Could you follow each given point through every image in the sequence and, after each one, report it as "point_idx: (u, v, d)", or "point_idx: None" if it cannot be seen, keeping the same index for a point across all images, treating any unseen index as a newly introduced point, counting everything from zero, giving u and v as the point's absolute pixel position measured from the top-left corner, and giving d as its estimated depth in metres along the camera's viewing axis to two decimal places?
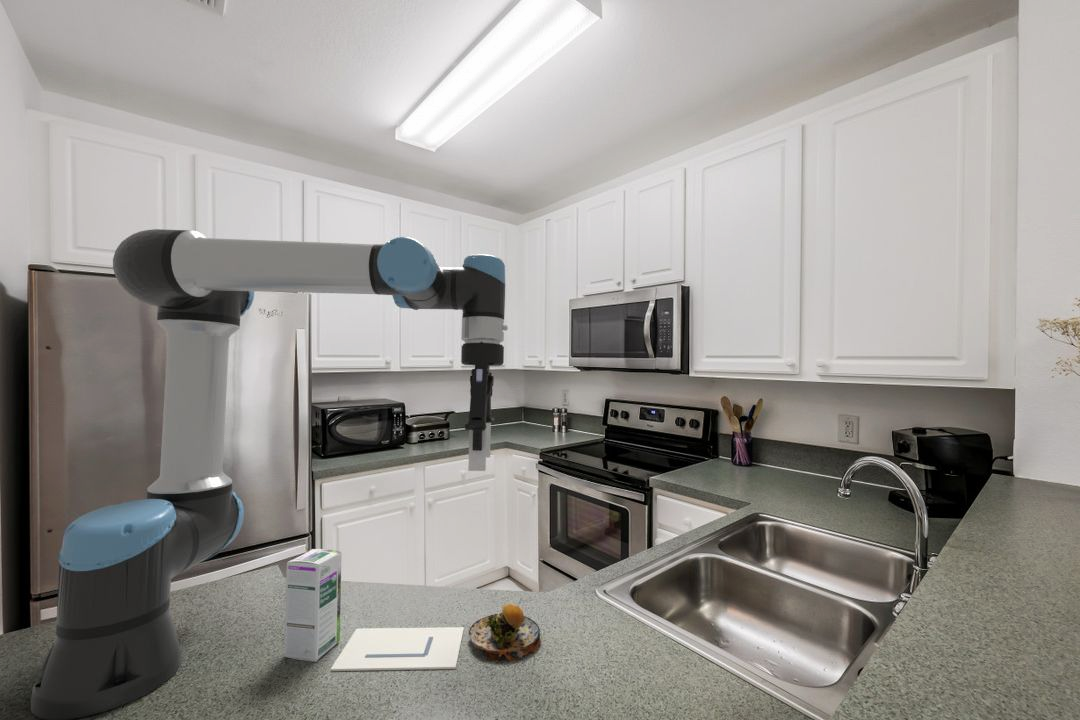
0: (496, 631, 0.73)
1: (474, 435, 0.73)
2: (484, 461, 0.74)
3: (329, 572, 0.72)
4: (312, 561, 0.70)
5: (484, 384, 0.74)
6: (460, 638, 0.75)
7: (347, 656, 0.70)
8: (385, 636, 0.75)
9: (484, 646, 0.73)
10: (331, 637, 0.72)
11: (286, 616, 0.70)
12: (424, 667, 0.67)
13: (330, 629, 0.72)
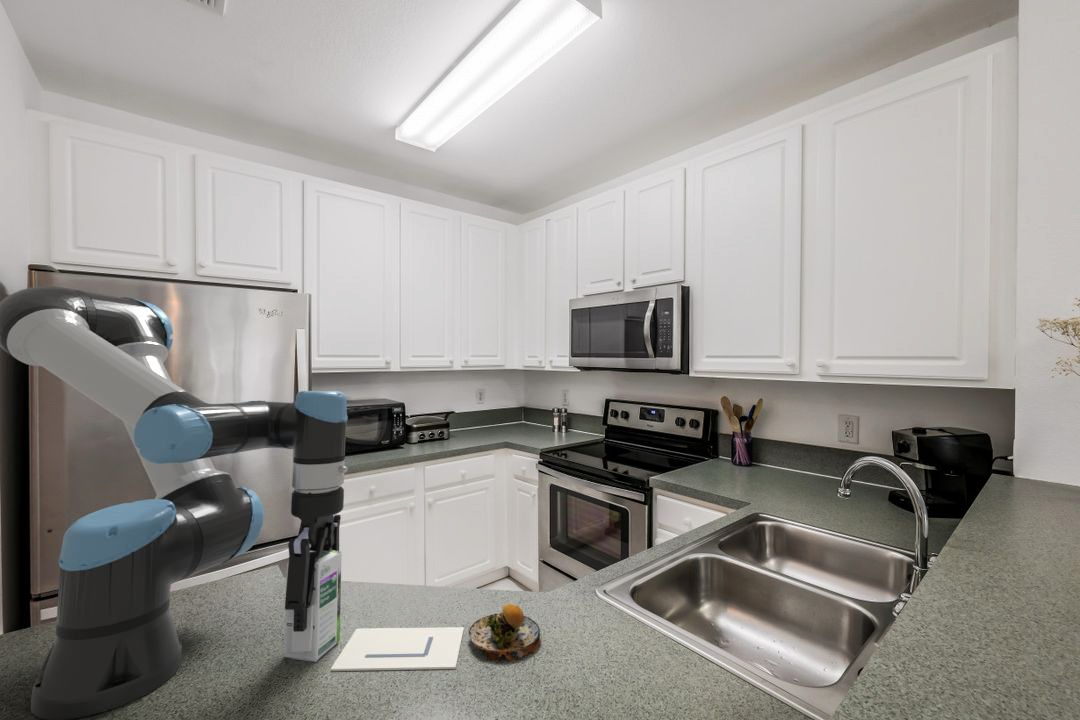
0: (496, 631, 0.73)
1: (295, 615, 0.67)
2: (308, 641, 0.68)
3: (330, 572, 0.72)
4: None
5: (303, 558, 0.66)
6: (460, 638, 0.75)
7: (347, 656, 0.70)
8: (385, 636, 0.75)
9: (484, 646, 0.73)
10: (331, 637, 0.72)
11: (286, 616, 0.70)
12: (424, 667, 0.67)
13: (330, 629, 0.72)
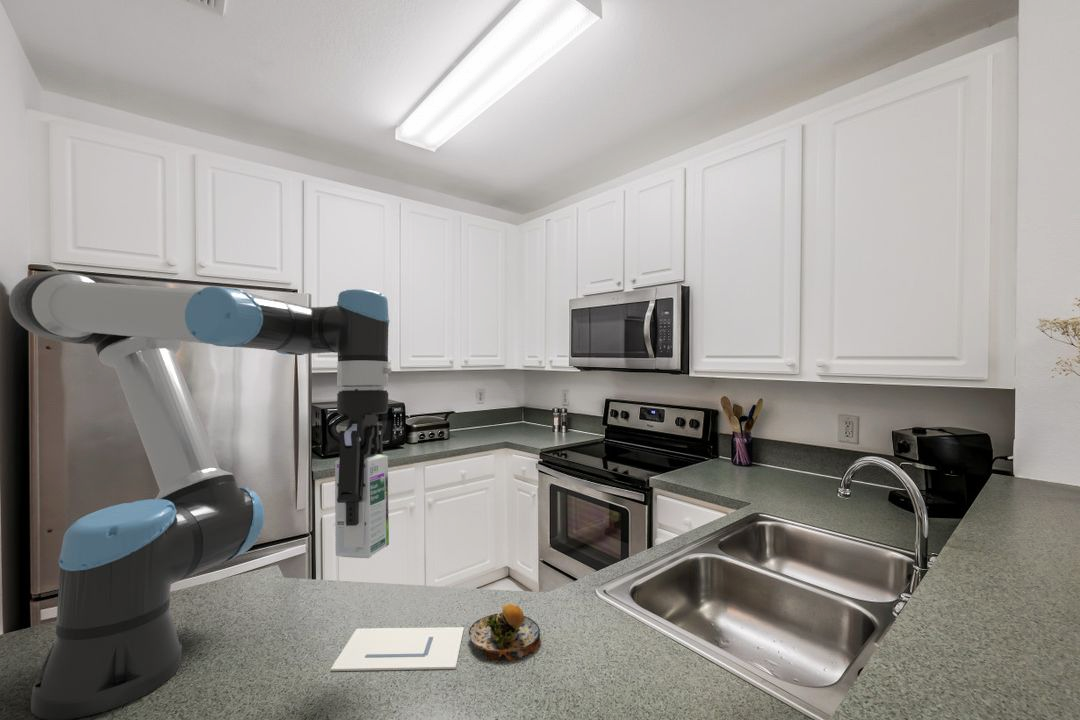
0: (496, 631, 0.73)
1: (347, 509, 0.66)
2: (361, 536, 0.67)
3: (378, 472, 0.71)
4: None
5: (354, 450, 0.65)
6: (460, 638, 0.75)
7: (347, 656, 0.70)
8: (385, 636, 0.75)
9: (484, 646, 0.73)
10: (381, 537, 0.71)
11: (336, 515, 0.69)
12: (424, 667, 0.67)
13: (380, 529, 0.71)
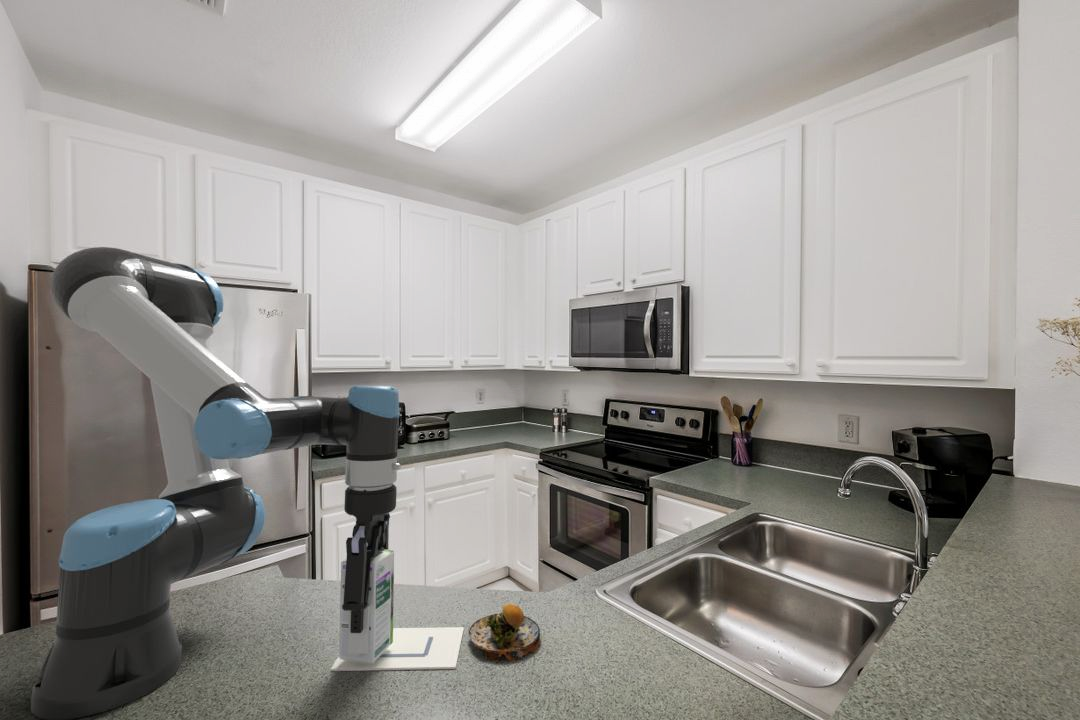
0: (496, 631, 0.73)
1: (352, 616, 0.65)
2: (365, 642, 0.66)
3: (384, 572, 0.70)
4: None
5: (361, 558, 0.64)
6: (460, 638, 0.75)
7: None
8: None
9: (484, 646, 0.73)
10: (385, 638, 0.70)
11: (341, 617, 0.68)
12: (424, 667, 0.67)
13: (385, 630, 0.70)
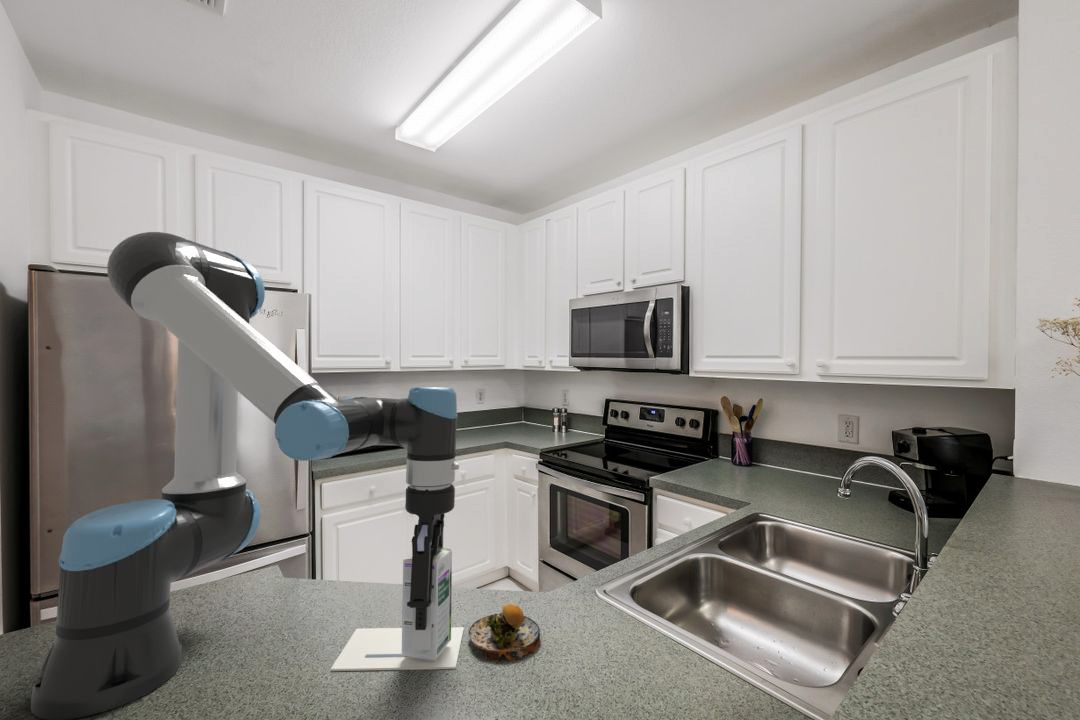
0: (496, 631, 0.73)
1: (417, 613, 0.66)
2: (429, 639, 0.67)
3: (444, 570, 0.71)
4: None
5: (426, 556, 0.65)
6: (460, 638, 0.75)
7: (347, 656, 0.70)
8: (385, 636, 0.75)
9: (484, 646, 0.73)
10: (445, 635, 0.71)
11: (403, 614, 0.69)
12: (424, 667, 0.67)
13: (445, 628, 0.71)
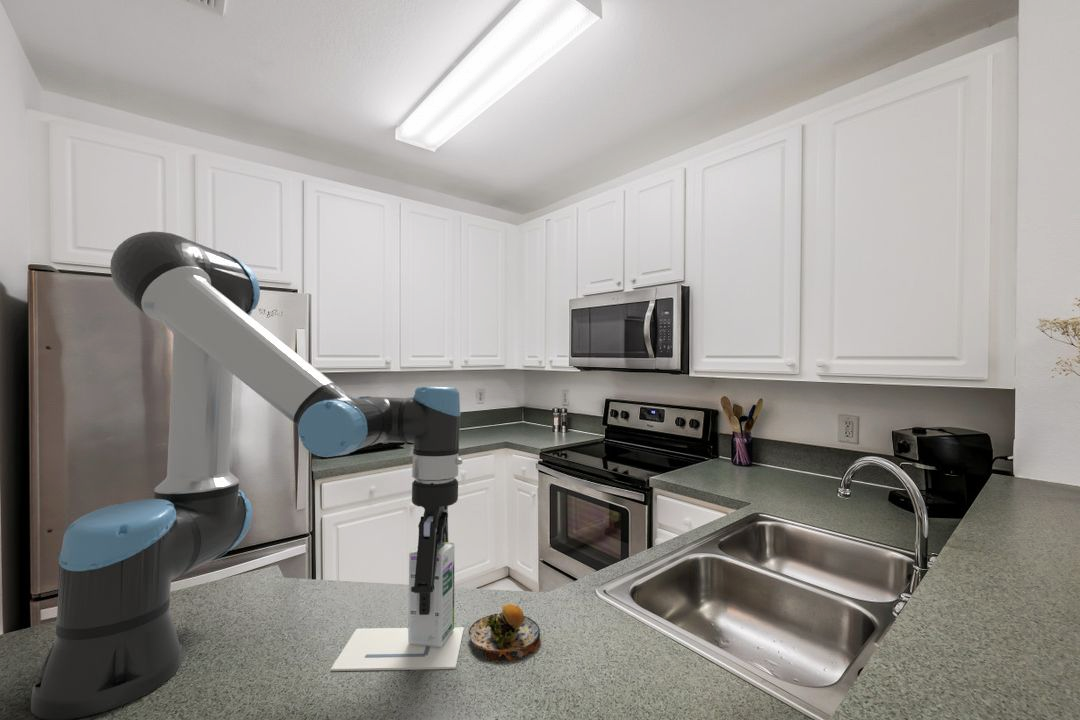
0: (496, 631, 0.73)
1: (421, 598, 0.68)
2: (432, 624, 0.69)
3: (448, 562, 0.75)
4: None
5: (432, 541, 0.69)
6: (460, 638, 0.75)
7: (347, 656, 0.70)
8: (385, 636, 0.75)
9: (484, 646, 0.73)
10: (449, 624, 0.75)
11: (410, 604, 0.73)
12: (424, 667, 0.67)
13: (449, 617, 0.75)
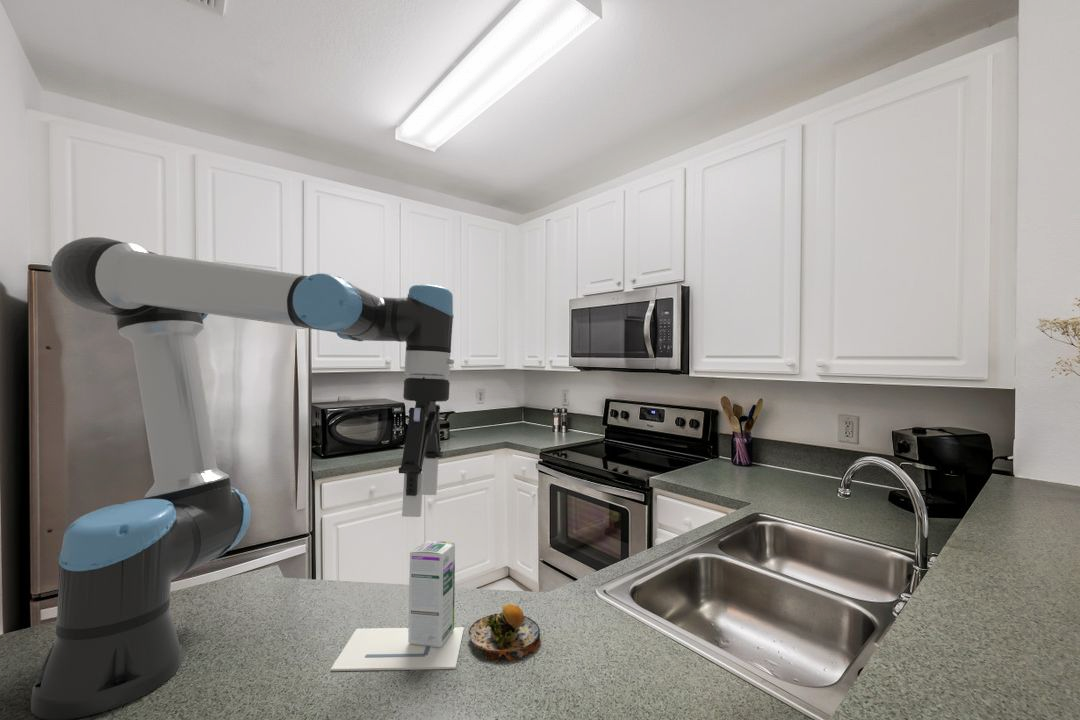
0: (496, 631, 0.73)
1: (408, 479, 0.69)
2: (419, 507, 0.70)
3: (448, 562, 0.75)
4: (435, 551, 0.74)
5: (421, 424, 0.70)
6: (460, 638, 0.75)
7: (347, 656, 0.70)
8: (385, 636, 0.75)
9: (484, 646, 0.73)
10: (449, 624, 0.75)
11: (410, 604, 0.73)
12: (424, 667, 0.67)
13: (449, 617, 0.75)
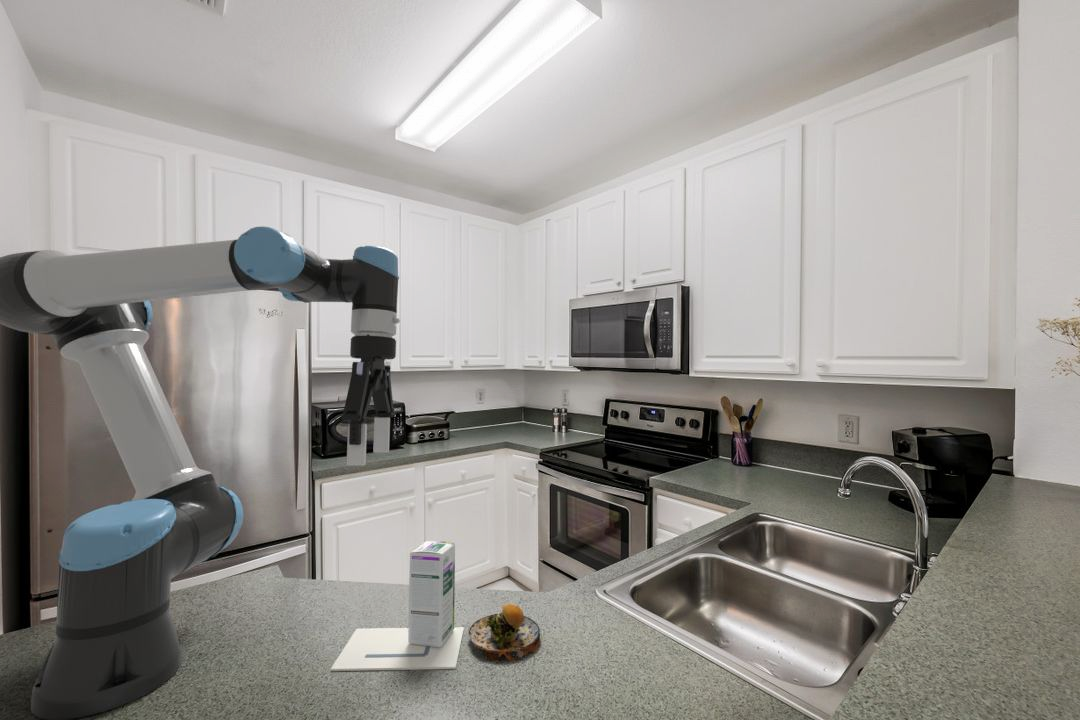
0: (496, 631, 0.73)
1: (351, 429, 0.72)
2: (363, 456, 0.73)
3: (448, 562, 0.75)
4: (435, 551, 0.74)
5: (364, 377, 0.73)
6: (460, 638, 0.75)
7: (347, 656, 0.70)
8: (385, 636, 0.75)
9: (484, 646, 0.73)
10: (449, 624, 0.75)
11: (410, 604, 0.73)
12: (424, 667, 0.67)
13: (449, 617, 0.75)
